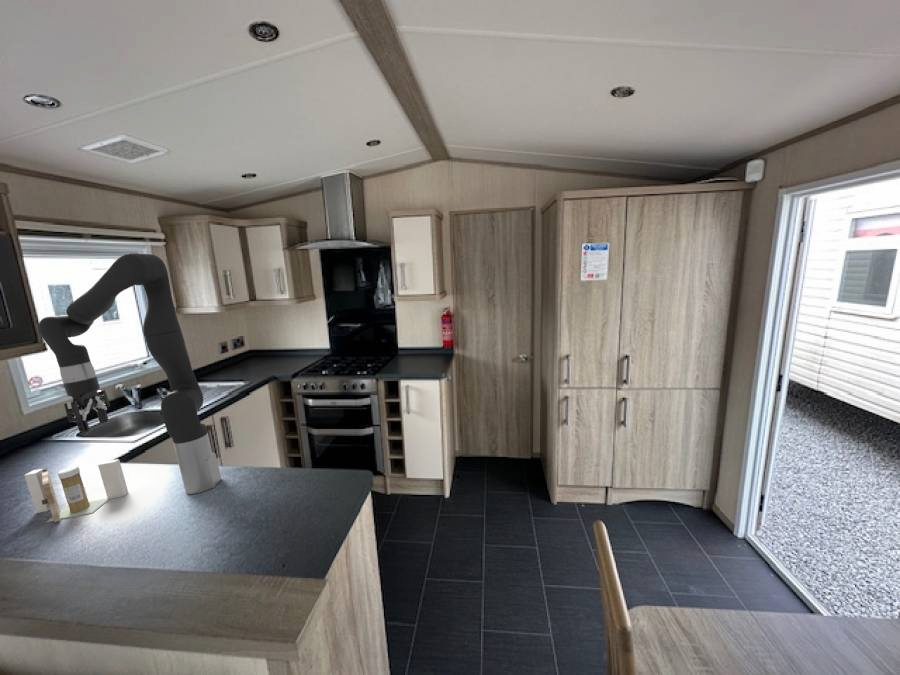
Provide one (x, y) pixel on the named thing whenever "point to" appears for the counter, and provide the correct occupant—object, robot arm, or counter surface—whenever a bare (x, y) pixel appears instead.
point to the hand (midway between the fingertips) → (95, 426)
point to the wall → (113, 478)
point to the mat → (90, 509)
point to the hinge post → (37, 490)
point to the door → (50, 496)
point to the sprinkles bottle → (73, 489)
